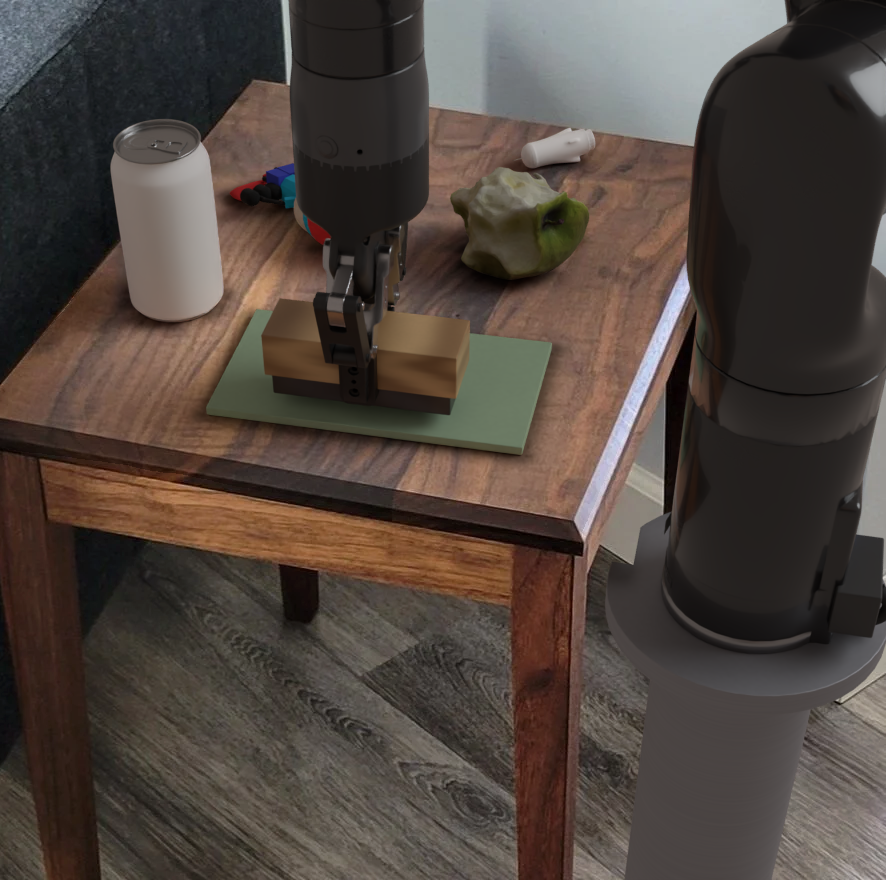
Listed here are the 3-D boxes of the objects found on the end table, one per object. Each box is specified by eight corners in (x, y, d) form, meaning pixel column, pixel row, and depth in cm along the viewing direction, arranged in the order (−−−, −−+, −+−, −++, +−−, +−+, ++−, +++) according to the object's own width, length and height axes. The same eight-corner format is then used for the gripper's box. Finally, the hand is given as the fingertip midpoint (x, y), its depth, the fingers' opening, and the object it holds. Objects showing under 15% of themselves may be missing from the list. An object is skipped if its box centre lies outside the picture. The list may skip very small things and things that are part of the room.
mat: (551, 349, 106) (552, 341, 105) (522, 455, 98) (522, 447, 98) (256, 316, 110) (256, 308, 110) (206, 414, 103) (205, 406, 102)
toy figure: (223, 219, 122) (330, 276, 111) (215, 154, 120) (325, 207, 109) (308, 194, 126) (421, 248, 115) (303, 131, 123) (418, 180, 112)
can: (154, 266, 115) (131, 110, 107) (238, 279, 114) (222, 122, 105) (115, 317, 111) (89, 158, 103) (203, 331, 109) (183, 171, 101)
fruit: (594, 303, 112) (593, 215, 105) (458, 315, 113) (448, 229, 106) (584, 210, 117) (582, 121, 111) (454, 223, 118) (444, 135, 112)
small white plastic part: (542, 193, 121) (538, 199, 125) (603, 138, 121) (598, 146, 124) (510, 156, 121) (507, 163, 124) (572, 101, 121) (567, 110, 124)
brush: (468, 379, 102) (470, 319, 98) (456, 419, 99) (456, 358, 96) (283, 356, 104) (279, 297, 101) (265, 394, 101) (260, 334, 98)
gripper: (397, 200, 83) (401, 459, 95) (454, 71, 93) (451, 320, 105) (257, 186, 85) (278, 442, 97) (327, 61, 95) (338, 307, 107)
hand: (368, 377), depth 101 cm, fingers closed on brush, 4 cm apart
